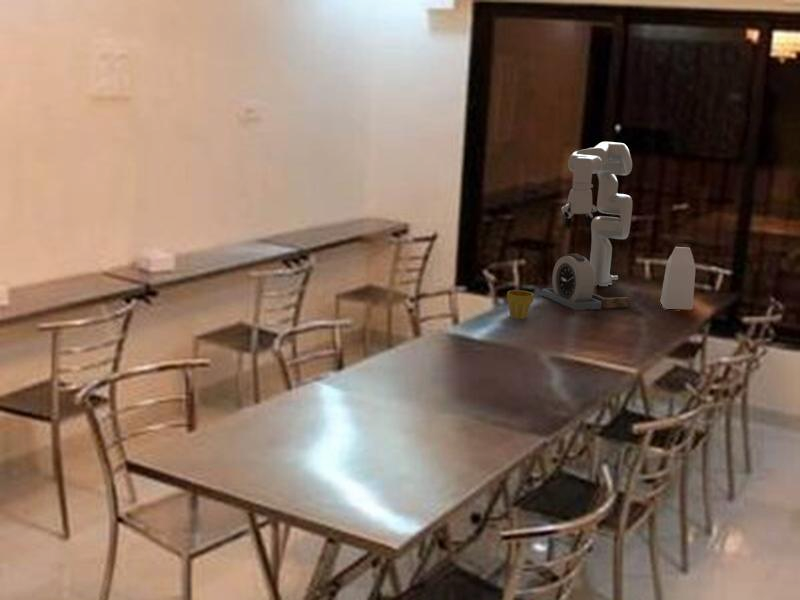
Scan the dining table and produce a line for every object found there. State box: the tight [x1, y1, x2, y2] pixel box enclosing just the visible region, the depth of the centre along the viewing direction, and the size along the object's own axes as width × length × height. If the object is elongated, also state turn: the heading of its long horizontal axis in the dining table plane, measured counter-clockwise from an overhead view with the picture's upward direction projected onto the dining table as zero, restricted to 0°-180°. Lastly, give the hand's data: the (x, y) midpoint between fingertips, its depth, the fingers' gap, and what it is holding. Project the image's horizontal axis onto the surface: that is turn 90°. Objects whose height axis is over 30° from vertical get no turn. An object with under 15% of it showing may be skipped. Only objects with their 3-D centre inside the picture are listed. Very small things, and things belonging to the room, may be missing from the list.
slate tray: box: [541, 288, 602, 311], centre depth 455 cm, size 13×27×3 cm, turn 23°
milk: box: [659, 246, 696, 310], centre depth 454 cm, size 12×12×26 cm
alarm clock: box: [551, 253, 595, 303], centre depth 453 cm, size 21×8×20 cm, turn 24°
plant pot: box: [506, 289, 534, 320], centre depth 424 cm, size 10×10×10 cm
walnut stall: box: [591, 285, 629, 309], centre depth 461 cm, size 12×25×4 cm, turn 23°
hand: (578, 227), depth 449 cm, fingers open, 9 cm apart
